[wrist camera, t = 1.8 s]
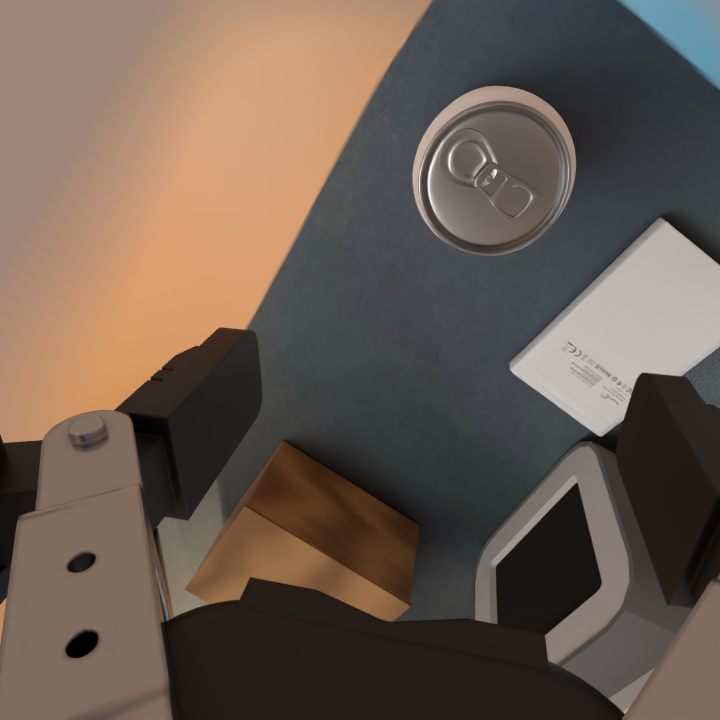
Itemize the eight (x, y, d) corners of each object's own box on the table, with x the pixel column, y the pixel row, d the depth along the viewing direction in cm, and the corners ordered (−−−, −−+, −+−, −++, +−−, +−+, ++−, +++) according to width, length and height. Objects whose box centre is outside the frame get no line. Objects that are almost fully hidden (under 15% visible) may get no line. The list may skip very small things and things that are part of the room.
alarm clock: (590, 425, 37) (654, 622, 23) (727, 495, 37) (868, 729, 24) (472, 555, 45) (469, 757, 32) (586, 612, 45) (630, 834, 32)
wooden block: (226, 518, 49) (184, 589, 42) (282, 438, 43) (244, 506, 36) (350, 592, 51) (330, 673, 44) (421, 525, 45) (411, 606, 38)
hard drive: (759, 298, 31) (597, 426, 37) (657, 214, 30) (508, 360, 36) (773, 308, 29) (602, 440, 35) (666, 221, 28) (509, 372, 34)
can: (485, 58, 28) (489, 43, 17) (572, 138, 29) (624, 169, 18) (409, 158, 31) (373, 196, 21) (490, 228, 32) (495, 297, 21)
